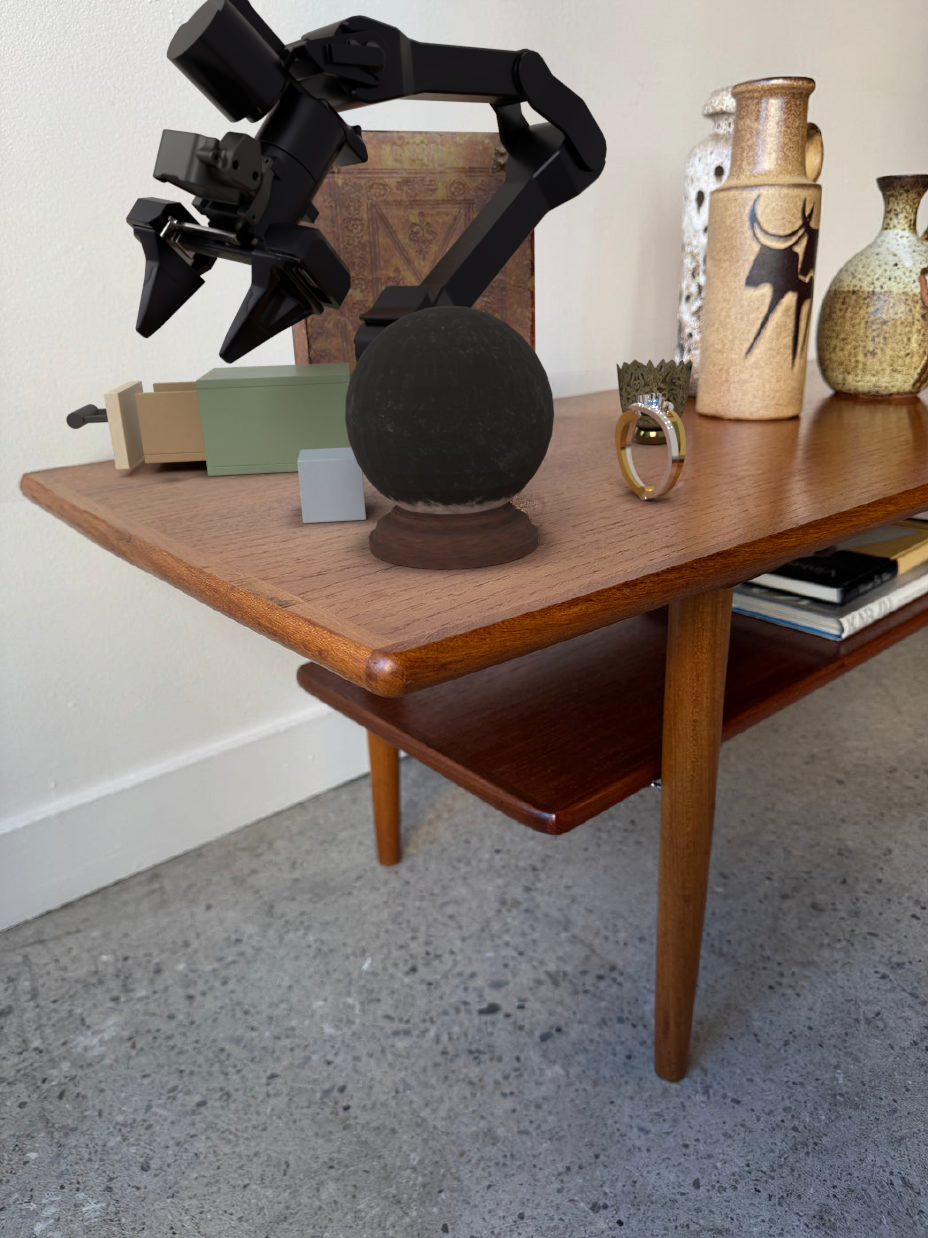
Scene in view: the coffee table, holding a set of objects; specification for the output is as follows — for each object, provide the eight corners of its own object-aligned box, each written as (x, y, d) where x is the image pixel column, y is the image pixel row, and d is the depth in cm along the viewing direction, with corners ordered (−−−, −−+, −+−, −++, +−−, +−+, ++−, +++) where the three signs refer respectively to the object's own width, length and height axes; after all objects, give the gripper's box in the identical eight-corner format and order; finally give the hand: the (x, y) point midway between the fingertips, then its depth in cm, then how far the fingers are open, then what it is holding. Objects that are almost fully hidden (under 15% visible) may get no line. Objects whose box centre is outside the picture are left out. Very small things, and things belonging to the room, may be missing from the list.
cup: (635, 434, 99) (637, 357, 96) (700, 438, 95) (704, 358, 92) (602, 445, 93) (603, 364, 91) (670, 451, 89) (673, 366, 87)
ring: (605, 493, 74) (608, 390, 71) (639, 488, 75) (643, 387, 72) (654, 511, 68) (659, 400, 65) (691, 506, 69) (697, 397, 66)
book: (506, 417, 113) (502, 144, 102) (536, 428, 105) (536, 132, 94) (300, 434, 105) (273, 141, 95) (315, 447, 97) (288, 127, 86)
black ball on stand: (469, 509, 70) (463, 300, 65) (595, 543, 60) (600, 301, 55) (317, 543, 62) (296, 309, 57) (434, 588, 53) (421, 312, 47)
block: (364, 505, 72) (360, 446, 70) (365, 519, 68) (361, 457, 66) (305, 508, 72) (300, 449, 70) (302, 523, 67) (297, 460, 66)
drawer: (67, 472, 83) (53, 395, 81) (96, 451, 93) (85, 382, 91) (254, 462, 85) (246, 387, 83) (264, 443, 95) (257, 375, 92)
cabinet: (207, 476, 84) (195, 380, 81) (223, 453, 95) (213, 367, 92) (356, 468, 86) (349, 373, 83) (355, 446, 97) (349, 362, 94)
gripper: (129, 74, 67) (19, 254, 65) (317, 91, 58) (196, 301, 56) (223, 186, 76) (129, 345, 74) (397, 216, 67) (295, 398, 65)
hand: (181, 346), depth 67 cm, fingers open, 9 cm apart
